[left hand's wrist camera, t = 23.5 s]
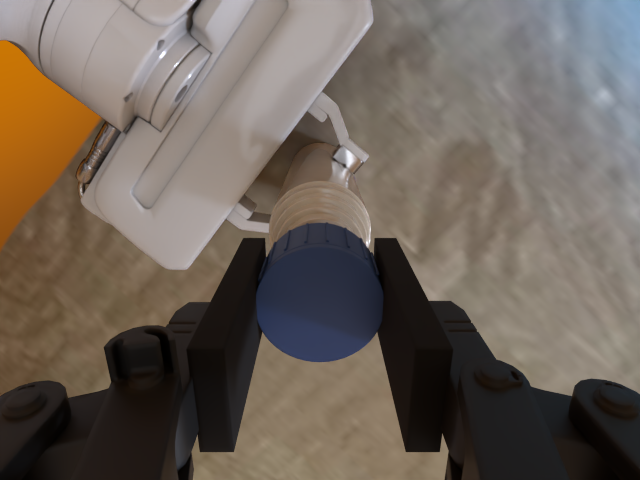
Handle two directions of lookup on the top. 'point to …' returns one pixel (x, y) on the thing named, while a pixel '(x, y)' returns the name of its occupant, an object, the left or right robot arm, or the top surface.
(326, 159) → the bottle
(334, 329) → the cap
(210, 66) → the right robot arm
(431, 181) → the top surface
